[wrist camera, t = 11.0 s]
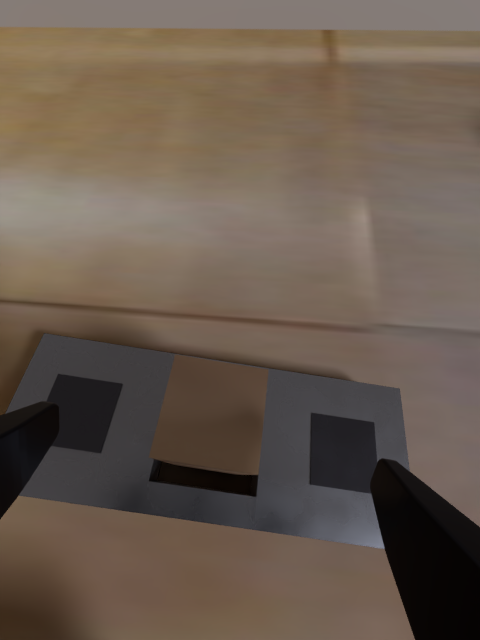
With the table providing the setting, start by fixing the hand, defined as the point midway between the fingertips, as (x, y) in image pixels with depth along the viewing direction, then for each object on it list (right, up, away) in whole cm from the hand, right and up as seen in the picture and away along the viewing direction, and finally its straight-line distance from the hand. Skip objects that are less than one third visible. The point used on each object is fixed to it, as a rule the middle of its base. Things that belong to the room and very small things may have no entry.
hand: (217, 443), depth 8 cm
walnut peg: (-1, -5, +12) cm, 13 cm away
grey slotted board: (-1, -5, +12) cm, 13 cm away
